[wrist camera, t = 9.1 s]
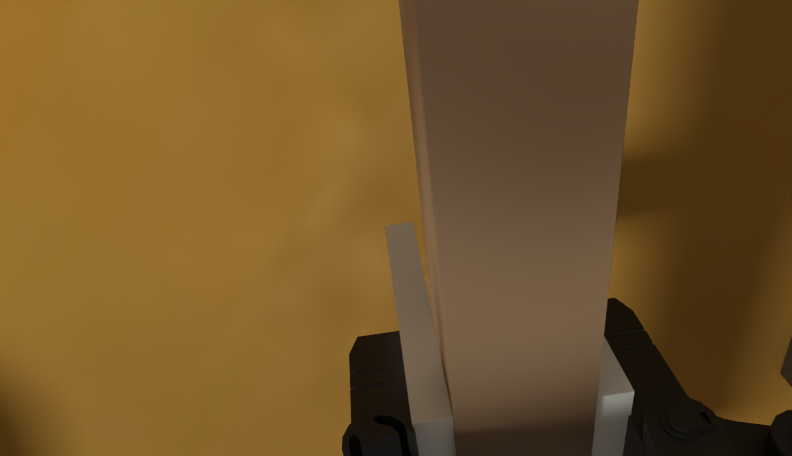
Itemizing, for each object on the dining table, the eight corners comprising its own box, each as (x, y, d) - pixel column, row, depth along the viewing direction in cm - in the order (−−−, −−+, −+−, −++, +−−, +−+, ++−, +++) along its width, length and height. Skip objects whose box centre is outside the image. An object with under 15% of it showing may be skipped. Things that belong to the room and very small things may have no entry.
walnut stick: (541, 614, 20) (565, 706, 18) (466, 625, 20) (482, 718, 18) (579, -419, 7) (694, -543, 5) (357, -389, 7) (368, -499, 4)
